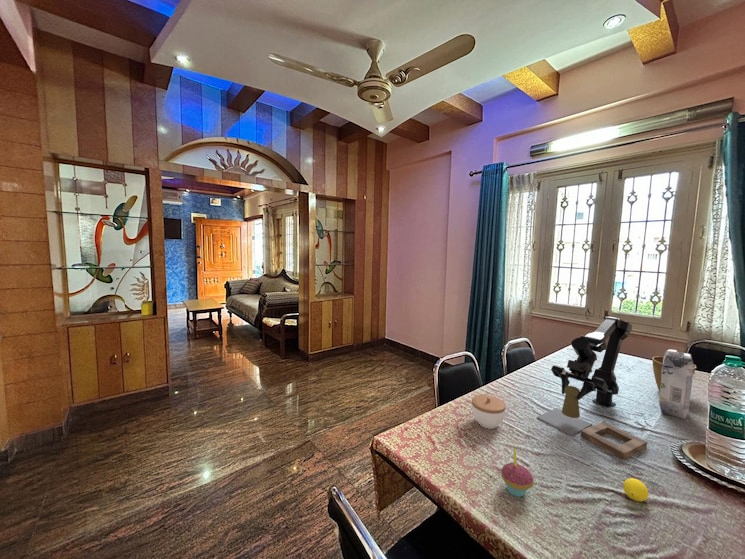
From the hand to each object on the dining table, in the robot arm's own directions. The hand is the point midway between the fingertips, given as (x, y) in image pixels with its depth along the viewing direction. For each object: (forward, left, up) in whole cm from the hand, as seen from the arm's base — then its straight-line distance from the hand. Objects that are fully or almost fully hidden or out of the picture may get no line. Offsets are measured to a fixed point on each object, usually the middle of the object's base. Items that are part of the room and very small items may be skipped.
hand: (570, 396), depth 120 cm
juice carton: (-50, +12, -12) cm, 53 cm away
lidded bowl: (+28, -15, -12) cm, 34 cm away
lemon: (+18, +30, -12) cm, 37 cm away
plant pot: (-71, +4, -12) cm, 72 cm away
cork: (-1, 0, -8) cm, 8 cm away
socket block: (-4, +13, -12) cm, 19 cm away
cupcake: (+46, +14, -12) cm, 50 cm away
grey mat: (-1, -3, -12) cm, 13 cm away
